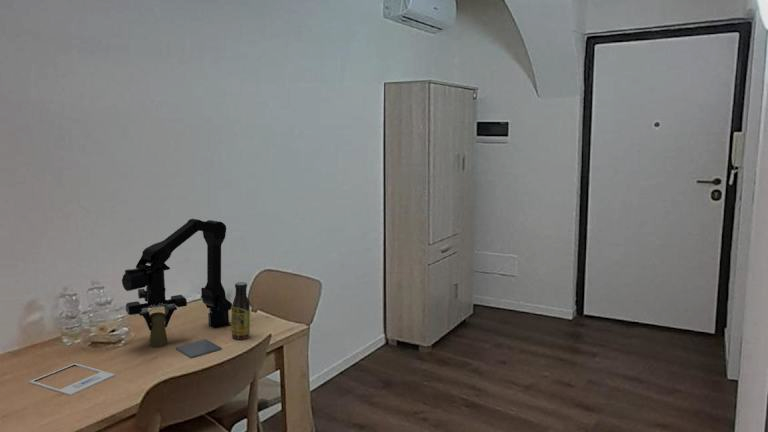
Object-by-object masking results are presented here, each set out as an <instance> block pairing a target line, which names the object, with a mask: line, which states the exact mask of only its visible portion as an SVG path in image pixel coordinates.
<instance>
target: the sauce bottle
mask: <svg viewBox="0 0 768 432" xmlns="http://www.w3.org/2000/svg"><path fill="white" fill-rule="evenodd" d="M234 288H235V296H234V298H233V301H232V307H231V337H232V339H233V340H245V339H247V338H249V336H250V328H251V323H250V322H251V321H250V320H251V318H250V315H251V309H250V299H249V298H248V296H247V288H248V283H247V282H246V281H237V282H235V283H234Z"/></svg>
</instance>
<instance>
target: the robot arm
mask: <svg viewBox="0 0 768 432" xmlns="http://www.w3.org/2000/svg"><path fill="white" fill-rule="evenodd" d="M199 231H200V232H202V236H203V239H204V241H205V243H206V248H207V249H206V251H207V259H206V260H207V261H206V263H207V265H206V267H207V269H206V270H207V271H206V273H207V275H206V276H207V278H206V279H207V280H206V281H207V283H206V285H205V286H204V287H201V297H200V299H202V303H204V304H205V307H206V308H207V309H209V312H208V313H207V315H208V321H207V322H208V325H210V326H211V327H212V328H213V329H215V328H217V329H218V328H222V327H226V326H227V327H228V326H232V323H231V322H230V321H229V320H230V318H229V316H230V315H229V314H230V313H229V311H230V310H231V311H232V305H233V302H231V301H230V300H229V299H227V296H226V290H225V289H224V286H223V283H222V244H223V242H224V240H225V239H226V233H227V225H226V224H225V223H224V222H222V221H217V220H212V219H208V220H206V221H203V220H201V219H196V218H191V219H188V221H187V222H186V223H184V224H183V225H182V226H180V227H179V228H178V229H177V230H175V231H174V232H173V233H171V234H170V235H168V237H166V238H165V239H164V240H161V241H159V242H155V243H153V244H151V245H149V246H148V247H146V248H144V249H143V250H142V255H141V257H140V259H139V261H138V262H137V264H136V265H135V268H133V269H131V268H130V269H129V268H128V269H125V270H124V274H123V275H122V279H121V283H122V286H123V289H124V290H125V291H127V292H130V291H131V292H132V291H134V290H137V296H138V299H144V303H140V301H137V300H136V301H131V302H126V304H125V312H126V313H127V315H128V316H133V315H139V316H141V317H143V318H144V321H145V322H146V325H147V328H148V331H151V321H150V315H151V314H150V312H149V310H148V309H153V308H159V307H163V308H164V314H165V318H166V319H165V321H164V325H165V329H166V328H168V325H169V323H170V320H171V317H172V315H174V311H177V310H178V308H183V307H187V306H188V301H187V298H186V297H185V296H183V295H182V294H177V295H176V294H175V295H171V296H170V298H169V299H166V283H165V282H166V281H165V271H169V270H170V269H171V267H169V266H168V265H167V264H166V262H167V261H168V260H169V259H170V257H171V255H172V254H173V252H174V251H175V250H176V249H177V248H179V247H181V245H182V244H183V243H185V242H186V241H187V240H189V239H190V238H191V237H192V236H193V235H194V234H196V233H197V232H199Z"/></svg>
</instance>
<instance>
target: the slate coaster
mask: <svg viewBox="0 0 768 432" xmlns="http://www.w3.org/2000/svg"><path fill="white" fill-rule="evenodd" d="M175 350H176V351H178V352H180V353H182V354H183V355H185V356H186V357H188V358H190V359H193V358H194V359H195V358H197V357H201V356H204V355H208V354H210V353H214V352H218V351H221V350H223V347H221V346H220V345H218V344H216V343H214V342H212V341H210V340H209V339H206V338H205V339H202V340H201V339H200V340H196V341H194V342H190V343H187V344H186V343H185V344H183V345H178V346H176V347H175Z"/></svg>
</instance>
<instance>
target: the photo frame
mask: <svg viewBox="0 0 768 432" xmlns="http://www.w3.org/2000/svg"><path fill="white" fill-rule="evenodd" d="M73 366H75V367H77V368H81V369H83V370H87V369H88V371H91V370H92V371H91V372H94V371H96V372H95V374H92V375H91V376H87V377H85V378H83V379H81V380H79V381H77V382H74V383H72V384H69V385H67V386H65V387H63V388H60V389H59V388H56V387H54V386H50V385H47V384H43V383H40V382H37V381H38V380H40V379H43V378H45V377H48V376H50V375H53V374H55V373H58V372H61V371H63V370H66V369H68V368H70V367H73ZM98 372H99V373H98ZM113 376H114V377H116V374H115V373H111V372H108V371H105V370H100V369H97V368H93V367H91V366H90V367H89V366H87V365H83V364H79V363H71V364H69V365H67V366H65V367H64V366H63V367H61V368H60V369H56V370H55V371H52V372H49V373H47V374H45V375H41V376H39V377H37V378H35V379H30V381H28V383H29V384H31V385H35V386H38V387H40V388H43V387H44V389H47V390H50V389H51V390H50V391H53V390H54V391H53V392H56V391H58V392H57V393H59V392H61V393H60V394H62V393H64V394H63V395H66V394H67V395H66V396H69V395H72V396H73V394H74V395H76V394H79V393H80V392H79V391H81V392H83V391H85V390H87V389H86V388H88V389H90V388H92V387H94V386H97V385H99V384H101V383H103V382H106V381H107V379H108V380H110V379H111V377H112V378H114V377H113ZM109 378H110V379H109ZM100 382H101V383H100ZM98 383H99V384H98ZM93 385H94V386H93ZM91 386H92V387H91ZM89 387H90V388H89ZM84 389H85V390H84ZM82 390H83V391H82ZM78 392H79V393H78ZM75 393H76V394H75Z"/></svg>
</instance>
